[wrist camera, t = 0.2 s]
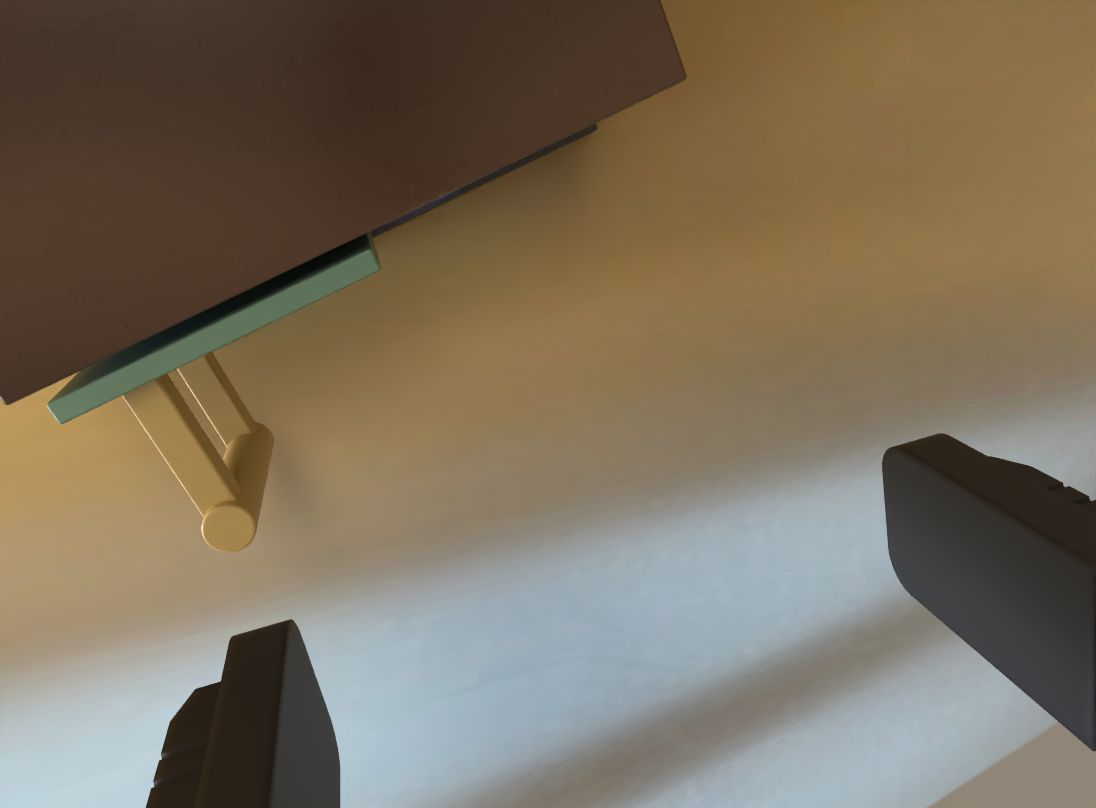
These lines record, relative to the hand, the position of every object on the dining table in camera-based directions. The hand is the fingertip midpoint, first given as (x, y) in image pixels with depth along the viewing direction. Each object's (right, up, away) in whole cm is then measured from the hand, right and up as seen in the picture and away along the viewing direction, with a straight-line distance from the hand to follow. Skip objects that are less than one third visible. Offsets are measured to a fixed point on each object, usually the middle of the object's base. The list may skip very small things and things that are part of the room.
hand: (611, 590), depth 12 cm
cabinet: (-10, +14, +18) cm, 25 cm away
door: (-10, +5, +20) cm, 23 cm away
